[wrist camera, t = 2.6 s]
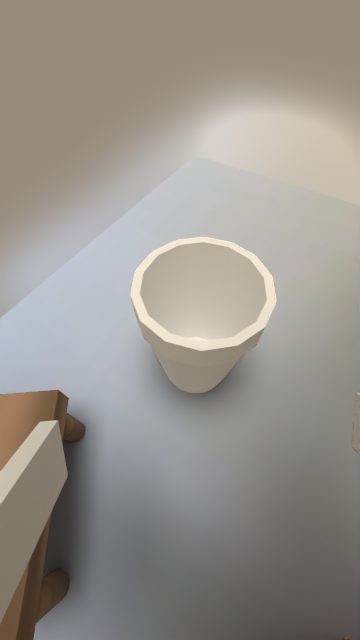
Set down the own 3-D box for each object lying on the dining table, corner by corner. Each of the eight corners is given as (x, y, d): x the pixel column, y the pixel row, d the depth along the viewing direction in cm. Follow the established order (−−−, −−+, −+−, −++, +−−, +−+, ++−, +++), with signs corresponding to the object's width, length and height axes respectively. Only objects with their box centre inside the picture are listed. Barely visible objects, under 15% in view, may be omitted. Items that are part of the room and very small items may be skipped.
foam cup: (132, 366, 28) (101, 288, 17) (189, 313, 32) (194, 220, 21) (201, 430, 25) (216, 383, 14) (256, 362, 28) (303, 282, 17)
